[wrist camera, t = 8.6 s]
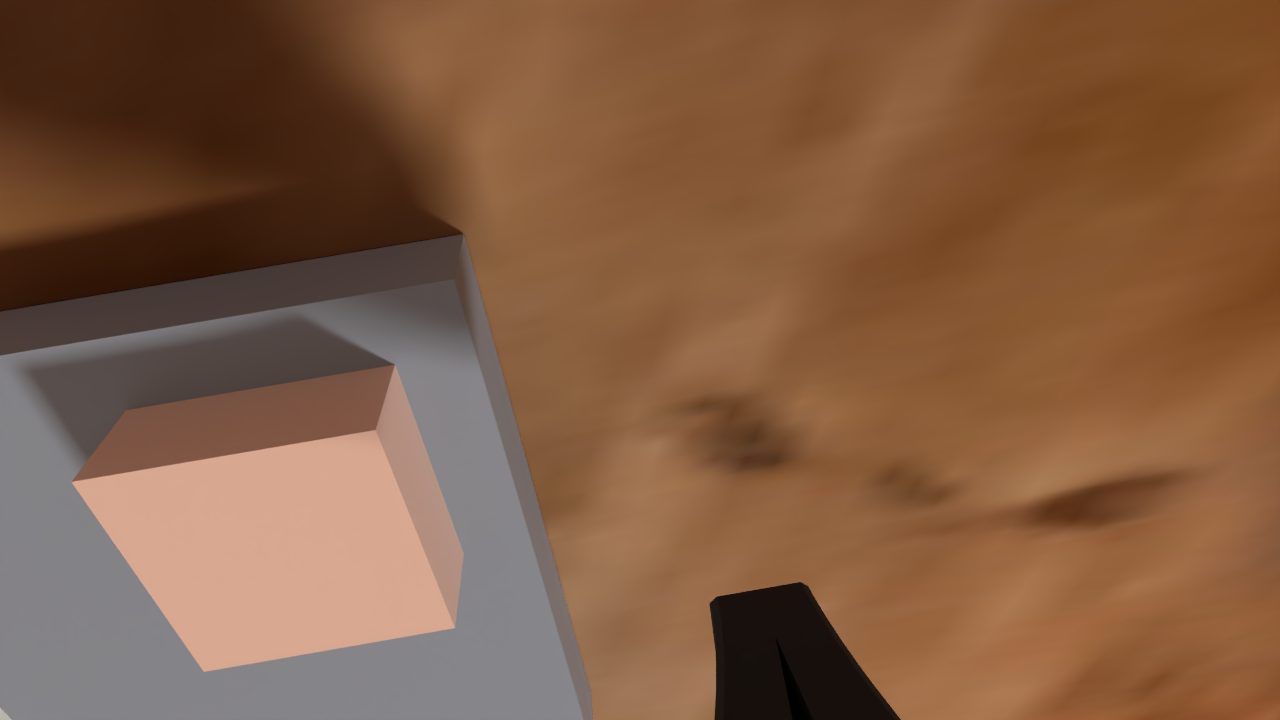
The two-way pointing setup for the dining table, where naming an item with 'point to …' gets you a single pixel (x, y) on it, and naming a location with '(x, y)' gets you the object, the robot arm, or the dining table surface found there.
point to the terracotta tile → (281, 517)
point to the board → (246, 359)
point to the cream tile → (4, 715)
